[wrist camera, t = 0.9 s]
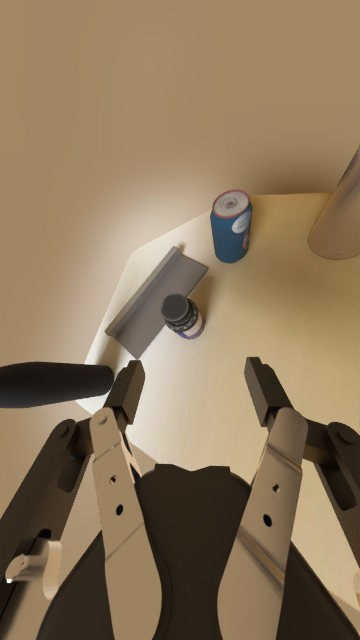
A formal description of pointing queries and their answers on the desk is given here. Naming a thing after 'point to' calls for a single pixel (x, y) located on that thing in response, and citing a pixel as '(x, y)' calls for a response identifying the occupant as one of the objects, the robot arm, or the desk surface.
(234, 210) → the soda can
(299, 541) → the desk surface
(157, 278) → the price rail shelf
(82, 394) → the black water bottle
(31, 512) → the robot arm
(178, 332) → the pill bottle
